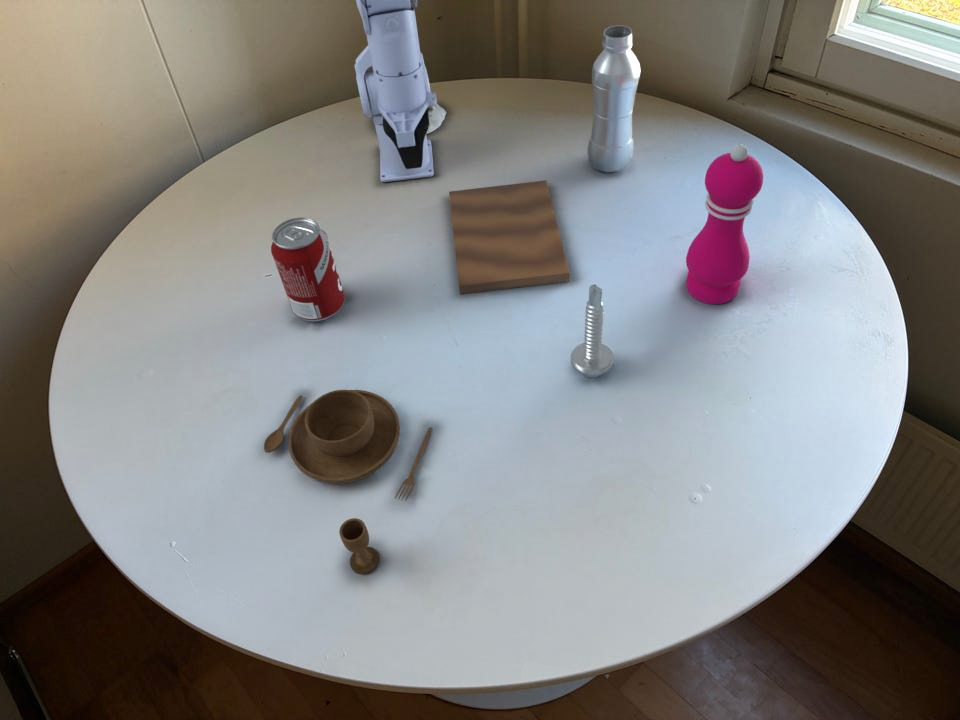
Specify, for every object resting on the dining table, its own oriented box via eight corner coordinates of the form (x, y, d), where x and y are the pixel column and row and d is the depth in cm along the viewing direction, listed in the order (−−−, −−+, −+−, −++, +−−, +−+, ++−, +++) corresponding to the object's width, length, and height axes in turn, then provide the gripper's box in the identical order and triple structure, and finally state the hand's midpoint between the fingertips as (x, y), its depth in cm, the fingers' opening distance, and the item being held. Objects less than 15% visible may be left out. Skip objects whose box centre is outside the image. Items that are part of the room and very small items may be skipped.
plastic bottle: (578, 161, 114) (582, 29, 99) (617, 147, 116) (626, 15, 101) (601, 183, 110) (608, 48, 95) (641, 168, 112) (654, 34, 97)
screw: (570, 353, 89) (613, 354, 88) (569, 385, 86) (613, 387, 85) (572, 269, 79) (619, 270, 79) (571, 301, 76) (620, 302, 75)
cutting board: (450, 200, 110) (448, 191, 109) (546, 188, 110) (546, 180, 109) (459, 294, 97) (458, 285, 96) (569, 281, 97) (569, 272, 96)
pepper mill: (743, 310, 91) (778, 167, 76) (680, 305, 93) (704, 163, 78) (741, 270, 96) (775, 128, 81) (682, 265, 97) (705, 125, 82)
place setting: (442, 413, 84) (436, 379, 80) (378, 578, 72) (367, 548, 67) (298, 388, 88) (285, 353, 84) (214, 540, 76) (193, 509, 72)
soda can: (319, 332, 94) (294, 258, 85) (282, 312, 97) (254, 238, 88) (356, 300, 98) (336, 225, 89) (319, 281, 101) (296, 207, 92)
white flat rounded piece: (450, 133, 122) (448, 111, 119) (376, 143, 122) (371, 122, 119) (443, 97, 130) (440, 75, 127) (373, 107, 129) (369, 85, 126)
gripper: (434, 92, 84) (447, 195, 94) (428, 32, 93) (441, 131, 103) (370, 99, 84) (390, 201, 94) (371, 39, 93) (389, 137, 103)
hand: (413, 165), depth 99 cm, fingers closed
